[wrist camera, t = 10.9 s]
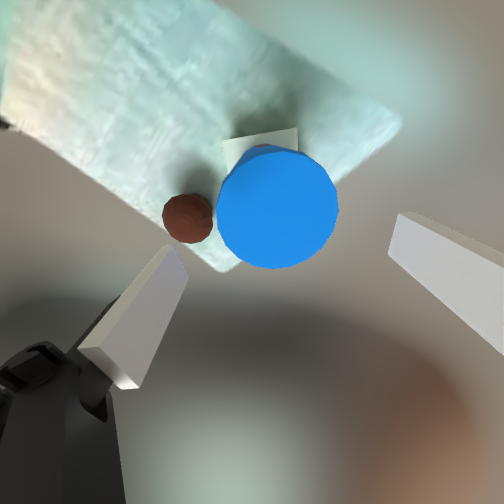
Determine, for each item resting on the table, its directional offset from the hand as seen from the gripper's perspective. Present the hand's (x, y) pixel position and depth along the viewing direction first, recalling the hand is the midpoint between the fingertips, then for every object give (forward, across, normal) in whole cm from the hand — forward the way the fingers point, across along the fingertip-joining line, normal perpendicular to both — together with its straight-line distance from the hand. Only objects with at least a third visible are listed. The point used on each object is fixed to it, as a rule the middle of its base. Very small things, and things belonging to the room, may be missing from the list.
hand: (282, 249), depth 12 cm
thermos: (+31, 0, 0) cm, 31 cm away
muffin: (+37, -18, -8) cm, 41 cm away
